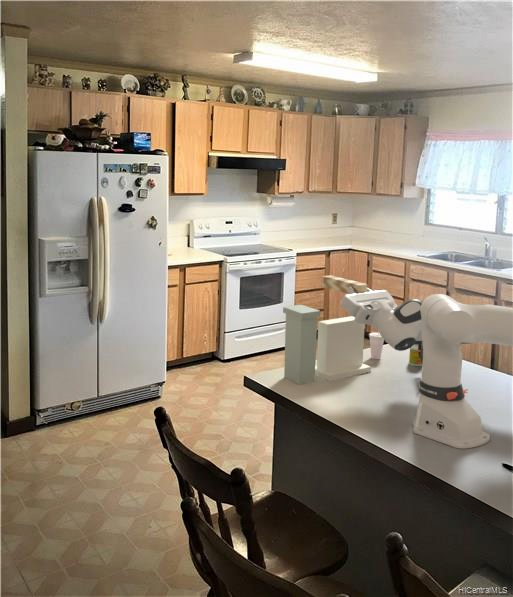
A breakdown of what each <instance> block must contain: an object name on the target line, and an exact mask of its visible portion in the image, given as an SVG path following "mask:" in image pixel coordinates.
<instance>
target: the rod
mask: <svg viewBox="0 0 513 597" xmlns="http://www.w3.org/2000/svg"><path fill="white" fill-rule="evenodd" d="M321 285H322V286H321V287H323V288H326V289H330V290H332V291H337V292H340V293H343V294H346V295H349V294H350V292H349V291H348V288H349V287H352V286H353V287H354V288H355V291H354V292H356V293H364V292H367V288H368V283H364V282H360V281H357V280H356V281H355V280H352V279H347V278H343V277H339V276H335V275H331V274H330V275H322V282H321Z"/></svg>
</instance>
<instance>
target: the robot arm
mask: <svg viewBox="0 0 513 597" xmlns="http://www.w3.org/2000/svg"><path fill="white" fill-rule="evenodd" d="M348 291H349V292H350V294H345V295H344V296H343V298H342V299H341V302H340V303H341V304H340V305H341V307H342V308H343V309H344V310H345V312H347V313H348V315H350V316H353V317H355V319H354V320H355V322H357V323H361V324H365V325H367V326H372V328H374V329H375V330H377V332H378V331H379V333H380V335H381V337H382V338H383V339H384V341H385V342H386V343H387V344H388V345H389V346H390V347H391V348H393V349H394V350H396V351H399V352H403V351H406V350H408V349H409V350H410V348H411V347H412V346H413V345H414V344H423V364H422V366H421V378H420V379H419V384H418V392H419V398H418V403H417V408H416V413H415V415H414V419H413V420H412V426H413V431H412V432H413V433H414V434H417V435H420V436H423V437H424V438H427V439H430V440H431V439H432V441H433V440H434V441H436V442H439V443H441V444H445V445H448V446H450V447H453V448H456V449H471V448H477V447H480V446H482V445H485V444H486V443H488V442H489V441H490V438H491V436H490V434H489V433H488V432H486V431H484V430H483V422H482V417H481V415H480V414H479V413H478V412H477V411H476V410H475V408H474V407H473V406H472V405H471V404H470V403H469V401H468V400H467V399H466V398H465V394H467V393H469V392H468V390H469V389H468V388H466V389H464V388H463V385H462V382H461V379H462V367H463V354H462V349H461V345H462V344H463V345H468V344H474V343H475V344H477V343H486V344H493V345H498V346H499V345H500V346H507V347H513V307H509V306H501V305H496V304H466V303H462V302H459V301H457V300H455V299H454V298H453V297H451V296H449V295H448V294H442V293H433V294H430V295H429V296H426V297H425V298H424V300H421V299H419V298H411V299H408V300H405V301H404V302H403V303H401V304H400V305H399V306H398V304H397V303H396V301H395V299H394V298H393V296H392V295H391V294H390V292H389V291H388V290H385V289H382V290H372V288H371V289H370V288H369V287H367V292H364V293H356V292H354V291H355V288H354V287H353V286H352V287H349V288H348Z"/></svg>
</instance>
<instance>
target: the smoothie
mask: <svg viewBox="0 0 513 597" xmlns="http://www.w3.org/2000/svg"><path fill="white" fill-rule="evenodd" d="M368 337H369V343H370V344H369V345H370V346H369V347H370V358H371V359H373V360H380V359H381V358H382V353H383V347H384V341H385V340H384V339H383V338H382V337H381V335H380V333H379V331H378V330H377V332H370V333H368Z"/></svg>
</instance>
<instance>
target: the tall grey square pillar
mask: <svg viewBox="0 0 513 597" xmlns="http://www.w3.org/2000/svg"><path fill="white" fill-rule="evenodd" d="M282 310H283V311H282V312H283V313H284V314H285V330H284V332H285V335H284V337H285V338H284V339H285V340H284V367H283V368H284V372H283V373H284V375H283V376H284V377H283V378H284V379H286V380H289V381H290V382H293V383H294V384H297V385H303V384H309V383H312V382H315V381H316V375H315V365H316V364H317V337H318V317H319V318H320V317H321V310H319V309H316V308H312V307H311V306H310V307H309V306H308V305H304V304H296V305H289V306H283V307H282Z"/></svg>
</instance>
